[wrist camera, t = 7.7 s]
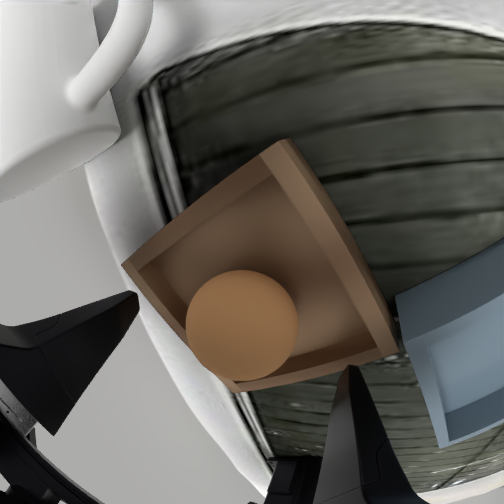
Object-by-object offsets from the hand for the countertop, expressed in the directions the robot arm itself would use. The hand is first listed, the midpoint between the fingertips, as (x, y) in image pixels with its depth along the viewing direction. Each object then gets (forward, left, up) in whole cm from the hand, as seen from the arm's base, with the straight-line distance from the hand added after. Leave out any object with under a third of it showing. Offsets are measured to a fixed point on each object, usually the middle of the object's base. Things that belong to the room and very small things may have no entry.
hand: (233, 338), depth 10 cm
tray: (0, 0, -4) cm, 4 cm away
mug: (+15, 0, -4) cm, 16 cm away
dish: (-10, -12, -4) cm, 16 cm away
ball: (0, 0, -1) cm, 1 cm away
